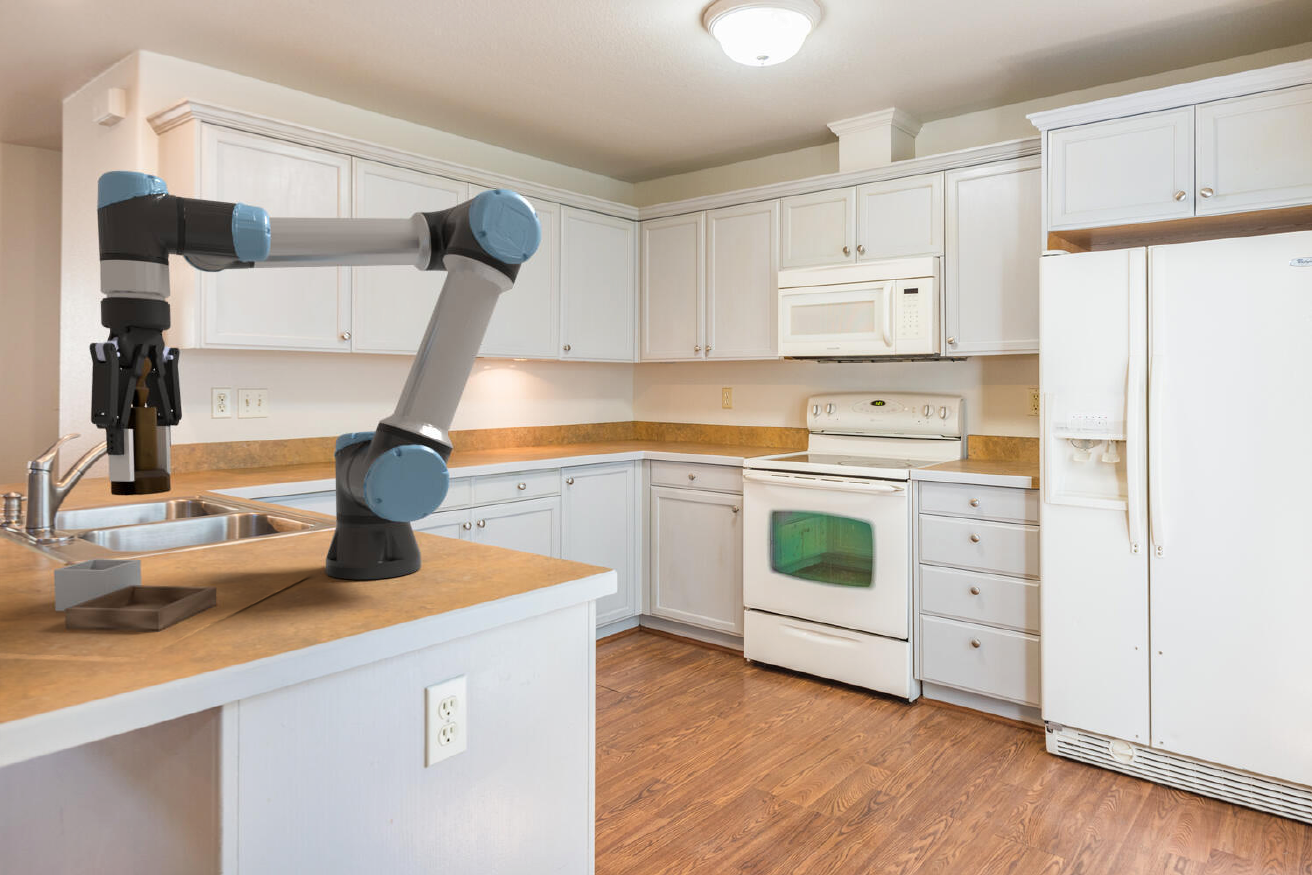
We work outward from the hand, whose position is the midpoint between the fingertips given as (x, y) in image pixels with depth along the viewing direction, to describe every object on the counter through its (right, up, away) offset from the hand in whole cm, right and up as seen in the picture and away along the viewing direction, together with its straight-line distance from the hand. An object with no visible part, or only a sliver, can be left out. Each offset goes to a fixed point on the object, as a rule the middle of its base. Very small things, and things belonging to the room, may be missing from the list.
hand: (141, 477), depth 106 cm
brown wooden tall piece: (0, -2, 0) cm, 2 cm away
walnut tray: (0, -19, +1) cm, 19 cm away
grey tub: (-10, -18, +7) cm, 22 cm away
